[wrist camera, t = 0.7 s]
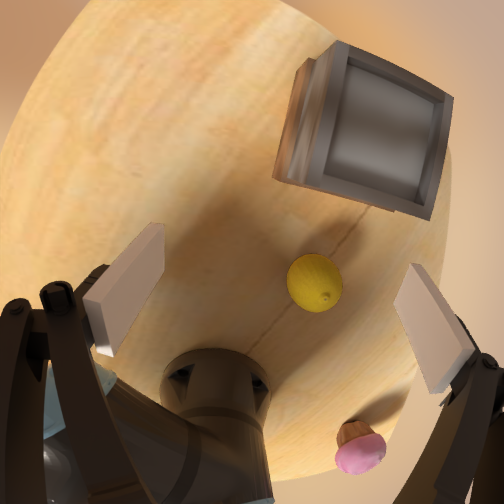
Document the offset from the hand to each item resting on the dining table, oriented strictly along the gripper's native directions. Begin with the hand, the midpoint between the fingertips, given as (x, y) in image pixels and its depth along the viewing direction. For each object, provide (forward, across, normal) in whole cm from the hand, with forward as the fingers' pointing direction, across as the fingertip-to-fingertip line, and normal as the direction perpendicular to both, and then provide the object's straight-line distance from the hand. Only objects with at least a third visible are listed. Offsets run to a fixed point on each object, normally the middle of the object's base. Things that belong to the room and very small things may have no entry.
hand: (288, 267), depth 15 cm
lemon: (+17, -4, +9) cm, 19 cm away
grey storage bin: (+19, -5, -5) cm, 21 cm away
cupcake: (+13, -20, +38) cm, 45 cm away
